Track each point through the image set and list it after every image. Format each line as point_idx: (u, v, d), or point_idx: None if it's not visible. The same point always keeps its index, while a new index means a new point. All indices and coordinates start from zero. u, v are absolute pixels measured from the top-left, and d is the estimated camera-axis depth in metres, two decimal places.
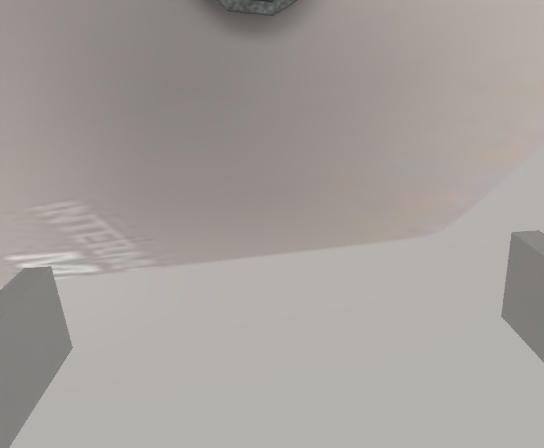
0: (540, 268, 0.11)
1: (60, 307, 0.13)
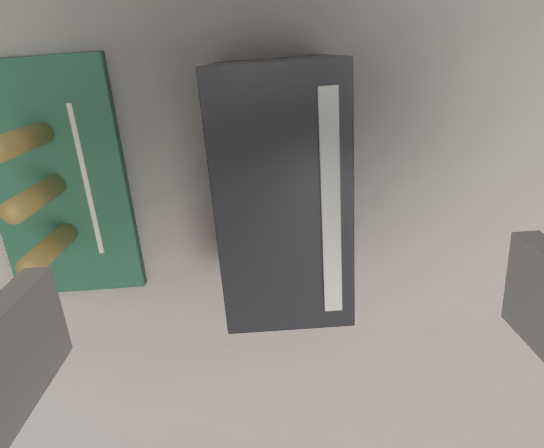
0: (540, 268, 0.11)
1: (60, 307, 0.13)
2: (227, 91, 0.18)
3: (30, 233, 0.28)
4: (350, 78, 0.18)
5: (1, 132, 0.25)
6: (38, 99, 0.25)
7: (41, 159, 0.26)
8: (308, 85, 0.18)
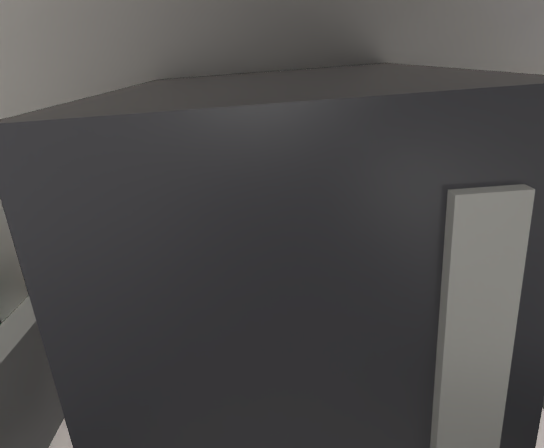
0: None
1: None
2: (112, 210, 0.05)
3: None
4: None
5: None
6: None
7: None
8: (415, 187, 0.05)
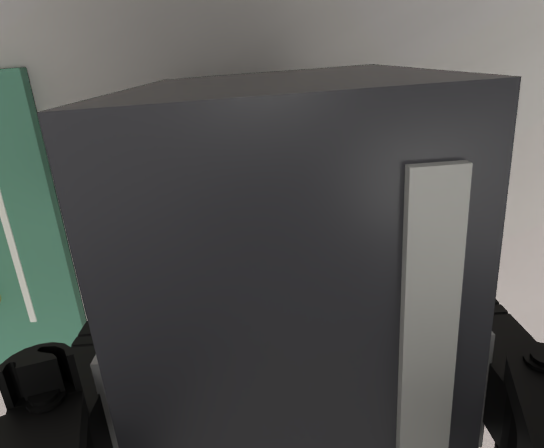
0: None
1: None
2: (139, 181, 0.06)
3: None
4: (506, 143, 0.06)
5: None
6: None
7: None
8: (379, 162, 0.06)
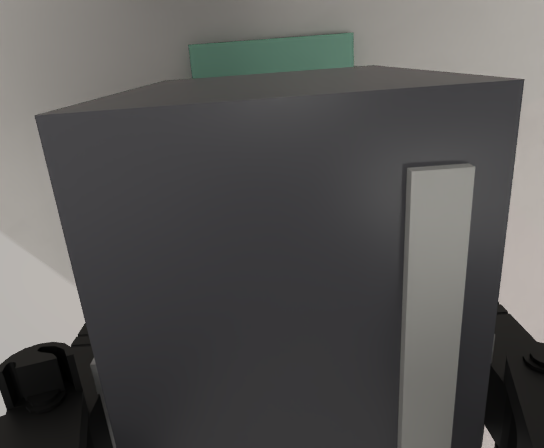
0: None
1: None
2: (138, 184, 0.06)
3: None
4: (509, 146, 0.06)
5: None
6: None
7: None
8: (380, 166, 0.06)
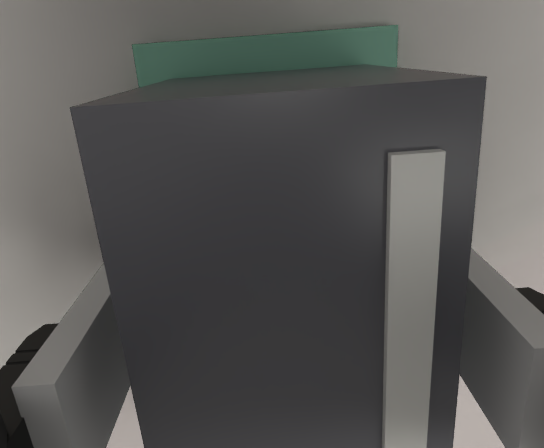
0: None
1: None
2: (157, 167, 0.07)
3: None
4: (474, 134, 0.07)
5: None
6: None
7: None
8: (365, 151, 0.07)
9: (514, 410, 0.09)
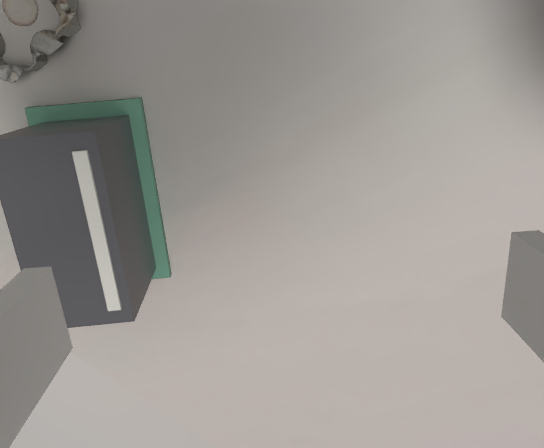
0: (540, 267, 0.11)
1: (60, 307, 0.13)
2: (8, 156, 0.25)
3: None
4: (95, 145, 0.25)
5: None
6: None
7: None
8: (66, 151, 0.25)
9: None
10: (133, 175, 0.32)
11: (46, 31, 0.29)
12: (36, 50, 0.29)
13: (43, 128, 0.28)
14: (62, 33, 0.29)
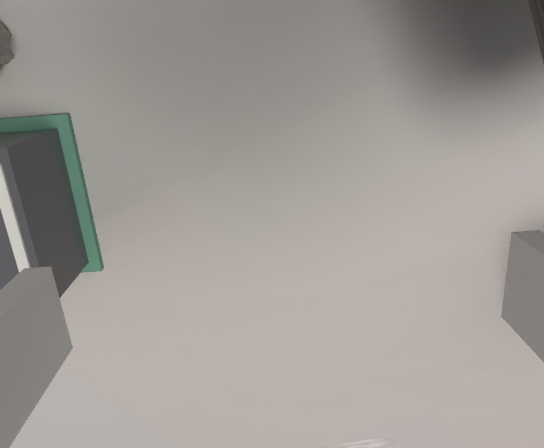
0: (540, 267, 0.11)
1: (60, 308, 0.13)
2: None
3: None
4: (7, 159, 0.30)
5: None
6: None
7: None
8: None
9: None
10: (60, 181, 0.37)
11: None
12: None
13: None
14: None
